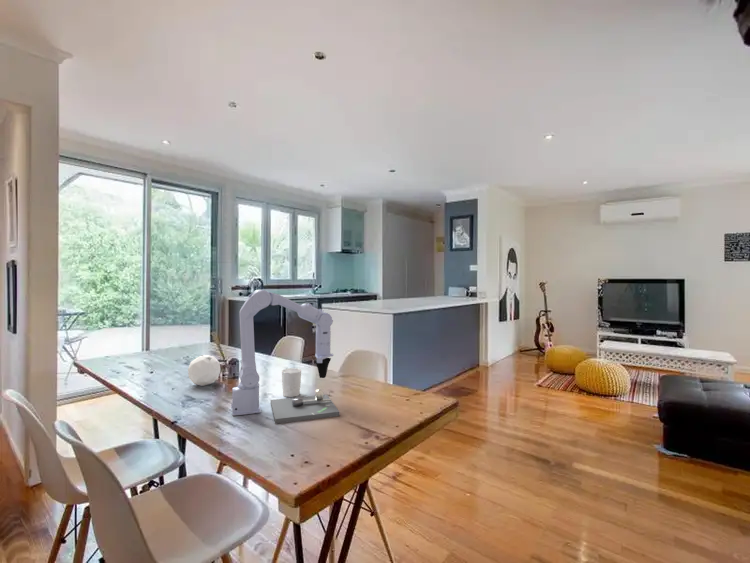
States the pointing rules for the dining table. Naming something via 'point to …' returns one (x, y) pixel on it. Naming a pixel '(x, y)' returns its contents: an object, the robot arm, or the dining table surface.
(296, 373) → the white cup
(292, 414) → the dial board
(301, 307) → the robot arm
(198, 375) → the geodesic sphere
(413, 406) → the dining table surface
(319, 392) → the peg lever
